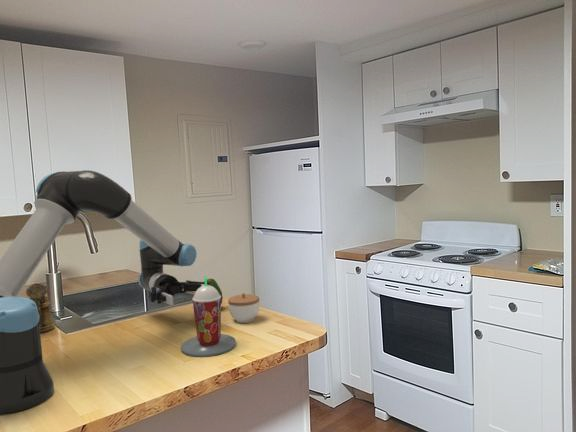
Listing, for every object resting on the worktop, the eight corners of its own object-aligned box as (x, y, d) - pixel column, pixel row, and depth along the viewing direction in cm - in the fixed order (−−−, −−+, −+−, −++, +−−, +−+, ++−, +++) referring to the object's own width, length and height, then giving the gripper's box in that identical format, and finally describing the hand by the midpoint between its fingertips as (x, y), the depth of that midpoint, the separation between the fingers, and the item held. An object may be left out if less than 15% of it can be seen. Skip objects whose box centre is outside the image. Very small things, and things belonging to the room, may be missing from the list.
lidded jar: (230, 326, 156) (228, 299, 155) (228, 317, 166) (226, 291, 165) (262, 323, 158) (261, 296, 157) (258, 314, 168) (256, 288, 167)
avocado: (198, 309, 177) (196, 278, 176) (217, 305, 182) (215, 275, 180) (208, 314, 171) (206, 282, 169) (227, 309, 175) (225, 278, 174)
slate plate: (236, 353, 132) (236, 350, 132) (178, 359, 129) (178, 356, 129) (234, 334, 148) (234, 331, 147) (183, 339, 145) (182, 336, 145)
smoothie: (227, 338, 142) (224, 273, 140) (216, 348, 134) (212, 279, 132) (202, 337, 144) (198, 273, 142) (190, 347, 136) (185, 279, 134)
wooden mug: (25, 340, 152) (19, 285, 150) (26, 328, 164) (21, 278, 162) (55, 334, 156) (50, 281, 154) (54, 323, 168) (49, 274, 166)
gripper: (197, 288, 169) (228, 299, 152) (129, 303, 153) (154, 317, 137) (196, 268, 168) (226, 277, 151) (127, 280, 153) (152, 292, 136)
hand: (192, 296), depth 144 cm, fingers open, 13 cm apart
